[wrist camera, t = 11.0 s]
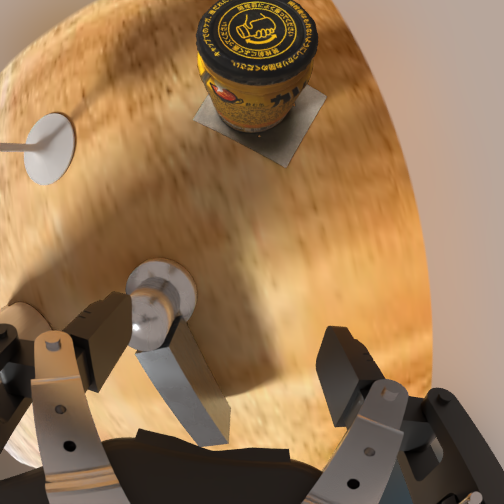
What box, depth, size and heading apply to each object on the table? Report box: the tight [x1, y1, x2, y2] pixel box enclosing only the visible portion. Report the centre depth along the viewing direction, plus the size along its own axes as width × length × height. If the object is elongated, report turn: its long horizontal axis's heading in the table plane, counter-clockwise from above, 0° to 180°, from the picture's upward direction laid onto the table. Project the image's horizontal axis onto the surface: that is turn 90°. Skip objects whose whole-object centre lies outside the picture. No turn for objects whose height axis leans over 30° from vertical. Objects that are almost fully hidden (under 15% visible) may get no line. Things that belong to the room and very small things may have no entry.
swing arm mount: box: [126, 258, 197, 322], centre depth 24 cm, size 6×6×1 cm
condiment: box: [193, 0, 327, 168], centre depth 15 cm, size 7×8×12 cm
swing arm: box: [128, 277, 231, 447], centre depth 22 cm, size 16×4×5 cm, turn 18°
